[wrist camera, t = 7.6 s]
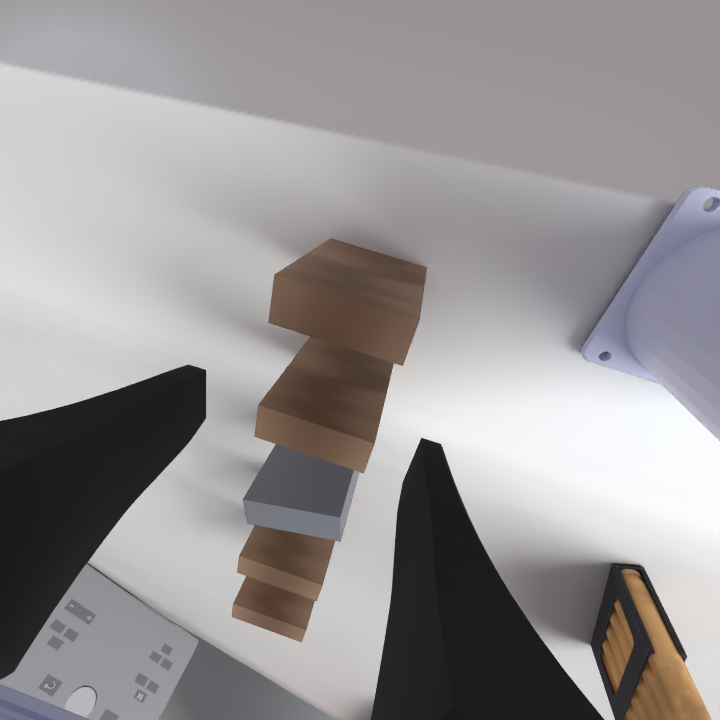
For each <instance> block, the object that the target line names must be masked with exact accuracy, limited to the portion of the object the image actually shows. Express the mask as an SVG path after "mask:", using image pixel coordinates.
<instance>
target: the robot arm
mask: <svg viewBox="0 0 720 720" xmlns="http://www.w3.org/2000/svg"><path fill="white" fill-rule="evenodd" d="M710 198H713V204H712V206H711V207H710V208H709V209H707V210H704V208H703V206H704V203H705V202H706V201H707V200H708V199H710ZM605 351H606V352H608V353H607V355H606V356H605V357H599V355H600V354H601V353H602V352H605ZM581 354H582V356H583V357H584V358H585V360H587V361H589V362H593V363H596V364H599V365H602V366H606V367H609V368H612V369H615V370H618V371H622V372H625V373H628V374H631V375H634V376H638V377H641V378H644V379H647V380H650V381H654V382H657V383H660V384H662V385H663V386H664V387H665V388H666V389H667V390H668V391H669V392H670V393H671V394H672V395H673V396H674V397H675V398H676V399H677V400H678V401H679V402H680V403H681V404H682V405H683V406H684V407H685V408H686V409H687V410H688V411H689V412H690V413H691V414H692V415H693V416H694V417H695V418H697V419H698V420H699V421H700V422H701V423H702V424H703V425H704V426H705V427H706V428H707V429H708V430H709V431H710V432H711V433H712V434H713V435H714V436H715V437H716V438H717V439H718V440H719V441H720V190H717V189H713V188H709V187H702V186H696V187H692V188H690V189H688V190H687V191H685V192H684V193H683V194H682V196H681V197H680V198H679V200H678V201H677V203H676V204H675V206H674V207H673V209H672V210H671V212H670V214H669V215H668V217H667V218H666V220H665V221H664V223H663V224H662V226H661V227H660V229H659V230H658V232H657V233H656V235H655V236H654V238H653V240H652V241H651V243H650V244H649V246H648V247H647V249H646V250H645V252H644V253H643V255H642V256H641V258H640V259H639V261H638V262H637V264H636V266H635V267H634V269H633V270H632V272H631V273H630V275H629V276H628V278H627V279H626V281H625V282H624V284H623V285H622V287H621V288H620V290H619V292H618V293H617V295H616V296H615V298H614V299H613V301H612V302H611V304H610V305H609V307H608V308H607V310H606V311H605V313H604V314H603V316H602V318H601V319H600V321H599V322H598V324H597V325H596V327H595V328H594V330H593V331H592V333H591V334H590V336H589V337H588V339H587V340H586V342H585V344H584V345H583V347H582V349H581ZM205 419H206V370H204V369H201V368H198V367H195V366H191V365H186V366H183V367H180V368H177V369H174V370H171V371H168V372H165V373H162V374H160V375H157V376H154V377H151V378H149V379H146V380H143V381H140V382H138V383H135V384H132V385H129V386H126V387H124V388H121V389H118V390H115V391H112V392H109V393H105V394H102V395H99V396H96V397H93V398H90V399H87V400H84V401H80V402H77V403H74V404H70V405H67V406H63V407H59V408H56V409H52V410H48V411H44V412H40V413H36V414H32V415H27V416H23V417H18V418H13V419H8V420H3V421H0V680H1V679H3V678H5V677H7V676H8V675H10V674H12V673H13V672H14V671H15V670H16V668H17V667H18V665H19V663H20V662H21V660H22V658H23V657H24V655H25V654H26V652H27V651H28V649H29V648H30V646H31V644H32V643H33V641H34V640H35V638H36V637H37V635H38V634H39V632H40V631H41V629H42V628H43V626H44V624H45V623H46V621H47V620H48V618H49V617H50V615H51V614H52V612H53V611H54V609H55V608H56V606H57V605H58V604H59V602H60V601H61V599H62V598H63V596H64V595H65V593H66V592H67V590H68V589H69V588H70V586H71V585H72V583H73V582H74V580H75V579H76V577H77V576H78V575H79V573H80V572H81V570H82V569H83V568H84V566H85V565H86V564H87V562H88V561H89V559H90V558H91V557H92V555H93V554H94V553H95V551H96V550H97V549H98V547H99V546H100V544H101V543H102V542H103V540H104V539H105V538H106V536H107V535H108V534H109V533H110V531H111V530H112V529H113V527H114V526H115V525H116V524H117V522H118V521H119V520H120V518H121V517H122V516H123V514H124V513H125V512H126V511H127V510H128V508H129V507H130V506H131V505H132V504H133V503H134V501H135V500H136V499H137V498H138V497H139V496H140V495H141V494H142V493H143V492H144V491H145V489H146V488H147V487H148V486H149V485H150V484H151V483H152V482H153V481H154V480H155V479H156V478H157V477H158V476H159V474H160V473H161V472H162V471H163V470H164V469H165V468H166V467H167V466H168V465H169V464H170V463H171V462H172V461H173V459H174V458H175V457H176V456H177V455H178V454H179V453H180V452H181V451H182V450H183V449H184V447H185V446H186V445H187V444H188V443H189V441H190V440H191V439H192V437H193V436H194V435H195V433H196V432H197V430H198V429H199V428H200V426H201V425H202V423H203V422H204V420H205ZM0 720H91V719H88V718H86V717H83V716H81V715H78V714H76V713H73V712H70V711H68V710H65V709H63V708H60V707H58V706H55V705H53V704H50V703H48V702H45V701H42V700H40V699H37V698H35V697H32V696H30V695H27V694H25V693H22V692H20V691H17V690H14V689H12V688H9V687H7V686H4V685H2V684H0ZM371 720H604V719H603V718H602V716H601V715H600V714H599V713H598V711H597V710H596V709H595V708H594V706H593V705H592V704H591V703H590V702H589V700H588V699H587V698H586V697H585V695H584V694H583V693H582V692H581V690H580V689H579V688H578V687H577V686H576V684H575V683H574V682H573V681H572V679H571V678H570V677H569V676H568V674H567V673H566V672H565V670H564V669H563V668H562V666H561V665H560V664H559V662H558V661H557V660H556V658H555V657H554V656H553V654H552V653H551V652H550V650H549V649H548V648H547V646H546V645H545V644H544V642H543V641H542V639H541V638H540V637H539V635H538V634H537V632H536V631H535V630H534V628H533V627H532V625H531V624H530V622H529V621H528V619H527V618H526V616H525V615H524V613H523V612H522V610H521V609H520V607H519V606H518V604H517V603H516V601H515V600H514V598H513V597H512V595H511V594H510V592H509V590H508V589H507V587H506V585H505V584H504V582H503V581H502V579H501V577H500V576H499V574H498V572H497V570H496V569H495V567H494V565H493V563H492V562H491V560H490V558H489V556H488V554H487V552H486V551H485V549H484V547H483V545H482V543H481V541H480V539H479V537H478V535H477V533H476V531H475V529H474V526H473V524H472V522H471V520H470V518H469V516H468V513H467V511H466V509H465V507H464V504H463V502H462V499H461V497H460V495H459V492H458V490H457V487H456V485H455V482H454V479H453V477H452V474H451V471H450V468H449V465H448V463H447V460H446V457H445V453H444V450H443V447H442V446H441V444H439V443H436V442H433V441H430V440H426V439H423V438H421V440H420V443H419V445H418V447H417V450H416V452H415V455H414V457H413V459H412V462H411V464H410V466H409V469H408V471H407V474H406V476H405V478H404V481H403V484H402V489H401V495H400V500H399V506H398V512H397V523H396V537H395V552H394V567H393V582H392V593H391V603H390V609H389V616H388V622H387V628H386V635H385V641H384V647H383V653H382V659H381V665H380V671H379V677H378V683H377V689H376V694H375V700H374V705H373V711H372V717H371Z"/></svg>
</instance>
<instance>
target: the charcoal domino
mask: <svg viewBox="0 0 720 720" xmlns="http://www.w3.org/2000/svg"><path fill="white" fill-rule="evenodd" d="M358 475H359V472H358V471H355V470H352V469H349V468H346V467H343V466H340V465H337V464H334V463H331V462H328V461H325V460H322V459H319V458H316V457H313V456H310V455H308V454H305V453H302V452H299V451H296V450H293V449H290V448H287V447H284V446H281V445H278V444H276V445H275V447H274V448H273V450H272V452H271V453H270V455H269V457H268V458H267V460H266V462H265V463H264V465H263V467H262V468H261V470H260V472H259V473H258V475H257V477H256V478H255V480H254V482H253V483H252V485H251V487H250V488H249V490H248V492H247V494H246V495H245V497H244V499H243V503H244V508H245V513H246V517H247V522H248V524H253V525H258V526H263V527H269V528H274V529H279V530H284V531H289V532H294V533H299V534H304V535H309V536H314V537H319V538H325V539H330V540H335V541H340V542H341V538H342V535H343V531H344V527H345V523H346V520H347V516H348V512H349V508H350V505H351V501H352V497H353V493H354V490H355V486H356V482H357V479H358Z"/></svg>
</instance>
